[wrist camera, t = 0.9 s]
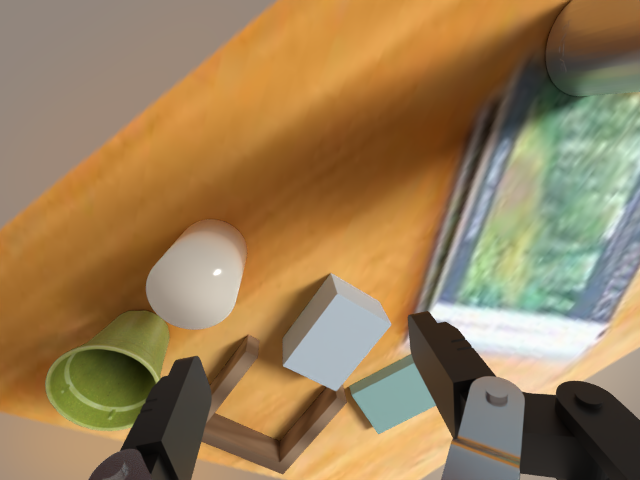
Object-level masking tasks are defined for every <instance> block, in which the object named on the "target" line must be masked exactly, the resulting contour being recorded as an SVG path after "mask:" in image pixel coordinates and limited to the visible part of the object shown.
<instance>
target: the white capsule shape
mask: <svg viewBox="0 0 640 480" xmlns="http://www.w3.org/2000/svg"><path fill="white" fill-rule="evenodd" d="M246 259H247V245H246V242H245V240H244V238H243V236H242V235H241V233H240V232H239V231H238V230H237V229H236V228H235V227H233V226H232V225H230V224H229V223H227V222H224V221H221V220H216V219H206V220H201V221H198V222H196V223H194V224H192V225H191V226H189V227H188V228H187V229H186V230H185V231H184V232H183V233H182V235H181V236H180V237H179V238H178V239H177V240H176V241H175V243H174V244H173V245H172V246H171V247H170V248H169V249H168V251H167V252H166V253H165V254H164V255H163V256H162V257H161V259H160V260H159V261H158V262H157V263H156V264H155V265H154V267H153V268H152V269H151V271H150V273H149V275H148V278H147V282H146V294H147V298H148V301H149V303H150V305H151V307H152V308H153V310H154V311H155V312H156V313H157V315H159V316H160V317H161V318H162V319H163V320H165V321H166V322H168V323H170V324H172V325H174V326H177V327H180V328H184V329H205V328H209V327H211V326H214V325H216V324H218V323H220V322H221V321H223V320H224V319H225V318H226V317H227V316H228V315H229V314H230V313H231V311H232V310H233V308H234V305H235V303H236V299H237V295H238V291H239V287H240V283H241V279H242V275H243V271H244V267H245V263H246Z"/></svg>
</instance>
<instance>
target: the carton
mask: <svg viewBox="0 0 640 480" xmlns="http://www.w3.org/2000/svg"><path fill="white" fill-rule="evenodd" d="M390 326H391V322H390V321H389V319H388V317H387V315H386V313H385V311H384V310H383V308H382V306H381V304H380V302H379V301H378V300H376V299H374V298H372V297H371V296H369V295H367V294H366V293H364V292H362V291H361V290H359V289H357V288H356V287H354V286H352V285H351V284H349V283H347V282H345V281H344V280H342V279H340V278H339V277H337V276H335V275H334V274H332V273H330V275H329V276H328V277H327V279H326V280H325V281H324V283H323V284H322V286H321V287H320V288H319V290H318V291H317V292H316V294H315V295H314V296H313V298H312V299H311V300H310V302H309V303H308V305H307V306H306V307H305V309H304V310H303V311H302V313H301V314H300V315H299V317H298V318H297V319H296V321H295V322H294V324H293V325H292V326H291V328H290V329H289V330H288V332H287V333H286V334H285V336H284V337H283V366H284V367H286V368H288V369H290V370H292V371H294V372H297V373H299V374H301V375H303V376H305V377H307V378H309V379H311V380H313V381H315V382H318V383H320V384H322V385H324V386H326V387H328V388H330V389H332V390H334V391H337V390H338V389H339V388H340V386H341V385H342V384H343V383H344V382H345V380H346V379H347V378H348V377H349V376H350V374H351V373H352V372H353V371H354V369H355V368H356V367H357V366H358V365H359V363H360V362H361V361H362V360H363V358H364V357H365V356H366V355H367V354H368V352H369V351H370V350H371V349H372V348H373V346H374V345H375V344H376V343H377V341H378V340H379V339H380V338H381V337H382V335H383V334H384V333H385V332H386V331H387V329H388V328H389V327H390Z"/></svg>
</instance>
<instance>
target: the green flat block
mask: <svg viewBox="0 0 640 480" xmlns="http://www.w3.org/2000/svg"><path fill="white" fill-rule="evenodd" d="M349 387H350V391H351V395H352V396H353V398H354V399H355V401H356V402H357V404H358V405H359V407H360V408H361V410H362V411H363V413H364V414H365V415H366V417H367V418H368V420H369V421H370V423H371V424H372V426H373V427H374V429H375V430H376V432H377V433H378V434H380V433H382V432H384V431H386V430H388V429H390V428H392V427H394V426H396V425H398V424H400V423H402V422H404V421H406V420H408V419H410V418H412V417H414V416H416V415H418V414H420V413H422V412H424V411H426V410H428V409H430V408H432V407H434V406H436V404H435V402H434V400H433V398H432V396H431V394H430V393H429V391H428V389H427V387H426V385H425V383H424V381H423V379H422V377H421V375H420V373H419V371H418V369H417V368H416V366H415V363H414V361H413V358H412V354H411V355H409V356H407V357H405V358H403V359H401V360H399V361H397V362H395V363H393V364H391V365H389V366H387V367H385V368H383V369H382V370H380V371H378V372H376V373H374V374H372V375H370V376H368V377H366V378H364V379H362V380H360V381H358V382H356V383H354V384H353V385H351V386H349Z"/></svg>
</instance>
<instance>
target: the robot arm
mask: <svg viewBox="0 0 640 480" xmlns="http://www.w3.org/2000/svg"><path fill="white" fill-rule="evenodd" d="M546 65H547V70H548V73H549V75H550V78H551V80H552V82H553V83H554V84H555V85H556V87H557V88H558V89H560V90H561V91H563V92H564V93H566V94H569V95H572V96H591V95H603V94H618V93H630V92H640V0H572V1H571V2H570V3H569V4H568V5H567V6H566V7H565V8H564V9H563V10H562V12H561V13H560V14H559V16H558V17H557V19H556V21H555V23H554V25H553V27H552V28H551V31H550V34H549V37H548V41H547V47H546ZM408 327H409V338H410V349H411V354H412V358H413V361H414V363H415V366H416V368H417V369H418V371H419V373H420V375H421V377H422V379H423V381H424V383H425V385H426V387H427V389H428V391H429V393H430V394H431V396H432V398H433V400H434V402H435V404H436V406H437V408H438V410H439V412H440V414H441V416H442V418H443V419H444V421H445V423H446V425H447V427H448V429H449V431H450V433H451V435H452V437H453V440H452V442H451V445H450V449H449V452H448V456H447V460H446V463H445V467H444V471H443V475H442V479H441V480H520V473H521V474H529V475H537V476H545V477H554V478H556V479H557V480H640V420H639V419H638V418H637V417H636V416H635V415H634V414H633V413H632V412H630V411H629V410H628V409H627V408H626V407H625V406H624V405H623V404H622V403H621V402H620V401H618V400H617V399H616V398H615V397H614V396H613V395H612V394H610V393H609V392H608V391H606V390H604V389H603V388H601V387H599V386H596V385H594V384H590V383H587V382H582V381H568V382H564V383H562V384H560V385H559V386H558V388H557V390H556V395H547V394H532V393H525V392H522V391H521V390H520V389H519V388H518V387H517V386H516V385H514V384H513V383H512V382H510V381H508V380H505V379H503V378H500V377H496V376H495V374H494V373H493V372H492V371H491V369H490V368H489V367H488V366H487V364H486V363H485V362H484V361H483V360H482V358H481V357H480V356H479V355H478V353H477V352H476V351H475V350H474V348H472V347H471V345H470V344H469V342H468V341H467V340H465V337H464V336H463V335H462V334H461V332H460V331H459V330H458V329H457V328H455V327H454V326H452V325H450V324H449V323H447V322H441V323H437V322H436V321H435V319H434V318H433V316H432V315H431V314H430V313H429V312H428V311H426V312H421V313H416V314H411V315H408ZM211 400H212V396H211V389H210V385H209V383H208V380H207V377H206V374H205V371H204V369H203V366H202V363H201V360H200V358H199V357H198V356H194V357H188V358H183V359H178V360H176V361H175V362H174V364H173V366H172V368H171V371H170V373H169V375H168V376H164V377H162V378H161V379H160V380H159V381H158V382H157V383H156V384H155V385H154V386H153V387H152V389H151V391H150V392H149V394H148V396H147V398H146V400H145V403H144V404H143V406H142V408H141V410H140V414H138V416H137V418H136V420H135V422H134V424H133V426H132V428H131V430H130V432H129V434H128V436H127V438H126V440H125V442H124V444H123V446H122V448H121V450H120V451H119V452H117V453H115V454H113V455H111V456H110V457H108V458H107V459H106V460H104V461H103V462H102V463H101V464H100V465H99V466H98V467H97V468H96V469H95V470H94V472H93V473H92V474H91V476H90V478H89V480H191V478H192V474H193V470H194V467H195V463H196V459H197V455H198V452H199V448H200V444H201V440H202V437H203V433H204V429H205V426H206V422H207V418H208V414H209V411H210V407H211Z"/></svg>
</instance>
